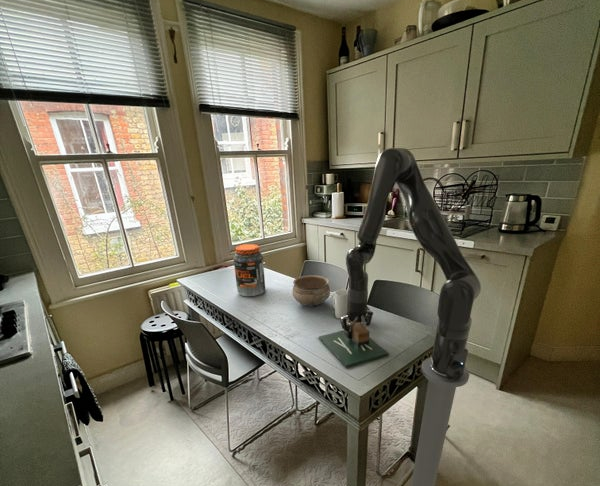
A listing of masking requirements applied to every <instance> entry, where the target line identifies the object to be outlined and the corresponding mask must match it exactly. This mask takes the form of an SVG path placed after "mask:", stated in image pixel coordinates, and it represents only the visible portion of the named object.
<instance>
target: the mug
mask: <svg viewBox="0 0 600 486" xmlns="http://www.w3.org/2000/svg"><path fill="white" fill-rule="evenodd" d="M347 297H348V289H337V290H334V291H332V294H331V297H330V298H331V299H330V300H331V304H332V307H333V308H334V315H335V318H337V319H339V320H340V316H343V317H344V316H346V315H347V312H348V310H347V300H348V298H347Z"/></svg>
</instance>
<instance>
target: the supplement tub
mask: <svg viewBox="0 0 600 486" xmlns="http://www.w3.org/2000/svg"><path fill="white" fill-rule="evenodd" d="M260 251H261V250H260V246H259V245H258V244H256V243H255V244H254V243H246V244H240V245H236V247H235V254H234V256H233V266H234V276H235V283H236V292H237V293H238V295H240V296H243V297H255V296H259V295H262V294H263V293H264V292H266V277H265V267H264V266H265V265H264V264H265V263H264V256H263V254H262V252H260Z"/></svg>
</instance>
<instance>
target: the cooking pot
mask: <svg viewBox="0 0 600 486" xmlns="http://www.w3.org/2000/svg"><path fill="white" fill-rule="evenodd" d="M329 282H330V280H329V278H327V277H324V276H321V275H302V276H299V277H296V278H295V279H294V280H293V282H292V283H293V286H292V290H291V291H292V292H291V293H292V296H293V299H294V300H295V301H296V302H298V303H299V304H301V305H304V306H305V307H309V308H311V307H312V308H313V307H316V306H319V305H322V304H323V303H325V302H326V301H327V300H328V299H329V297H330V296H331V288H330V285H329Z"/></svg>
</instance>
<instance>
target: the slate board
mask: <svg viewBox="0 0 600 486" xmlns="http://www.w3.org/2000/svg"><path fill="white" fill-rule="evenodd" d="M318 339H319V340H320V342H321V343H322V344H323V345H324V346H325V347H326V348H327V349H328V350H329V351H330V353H332V355H333V356H335V357H336V359H337V360H338V361H339V362H340V363H341V364H342V365H343V366H344V367H345V368H347V369H348V368H351V367H354V366H357V365H360V364H364V363H367V362H370V361H373V360H377V359H380V358H383V357H388V356H389V352H388V351H387V350H386V349H384V348H383V347H382V346H381V345H379V344H378V343H377V342H376V341H374V340H373V339H372V338H371V337H369V344H365V345H361V346H357V345H356V344H355V343H354V342H353V341H351V340H350V339H349V338H348V337H347V336H346V335H345V334H344V329H342V330H339V331H336V332H332V333H327V334H324V335H320V336H318Z"/></svg>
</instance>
